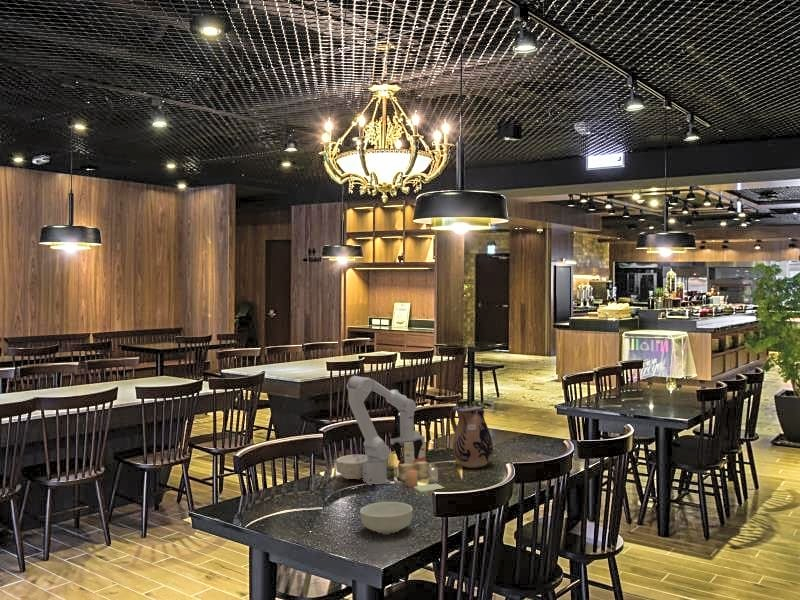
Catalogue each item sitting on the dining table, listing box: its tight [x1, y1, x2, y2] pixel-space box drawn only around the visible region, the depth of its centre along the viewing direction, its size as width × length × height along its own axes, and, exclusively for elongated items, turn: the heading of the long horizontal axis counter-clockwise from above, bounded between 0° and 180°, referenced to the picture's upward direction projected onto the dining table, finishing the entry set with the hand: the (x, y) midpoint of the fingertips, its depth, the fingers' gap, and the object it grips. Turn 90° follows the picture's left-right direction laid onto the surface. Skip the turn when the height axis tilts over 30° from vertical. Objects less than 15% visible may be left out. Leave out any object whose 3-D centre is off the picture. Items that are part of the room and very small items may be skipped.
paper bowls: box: [335, 453, 368, 480], centre depth 297 cm, size 15×15×8 cm
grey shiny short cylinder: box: [427, 466, 439, 485], centre depth 285 cm, size 4×4×6 cm
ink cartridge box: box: [403, 430, 427, 464], centre depth 319 cm, size 9×5×15 cm, turn 62°
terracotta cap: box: [406, 469, 419, 488], centre depth 282 cm, size 4×4×6 cm
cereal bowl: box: [359, 501, 414, 535], centre depth 230 cm, size 17×17×7 cm
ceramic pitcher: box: [449, 406, 494, 469], centre depth 312 cm, size 18×21×25 cm
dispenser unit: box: [396, 460, 430, 482], centre depth 293 cm, size 13×5×6 cm, turn 112°
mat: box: [413, 483, 445, 494], centre depth 277 cm, size 10×7×1 cm
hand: (407, 459), depth 298 cm, fingers open, 7 cm apart
